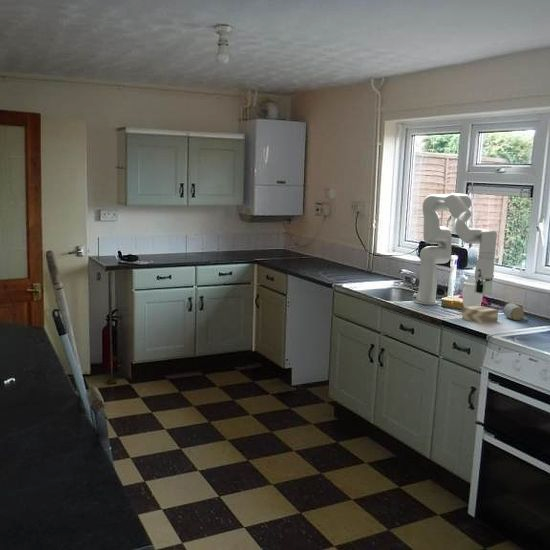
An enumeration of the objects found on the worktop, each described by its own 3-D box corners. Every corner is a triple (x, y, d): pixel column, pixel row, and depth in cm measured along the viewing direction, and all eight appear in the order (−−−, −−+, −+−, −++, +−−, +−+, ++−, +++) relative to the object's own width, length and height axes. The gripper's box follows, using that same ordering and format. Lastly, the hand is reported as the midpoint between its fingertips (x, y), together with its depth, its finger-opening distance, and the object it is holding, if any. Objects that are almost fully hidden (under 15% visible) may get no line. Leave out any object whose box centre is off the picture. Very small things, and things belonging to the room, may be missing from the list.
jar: (480, 313, 326) (484, 285, 323) (460, 311, 329) (463, 283, 327) (481, 310, 336) (484, 282, 333) (461, 307, 339) (464, 280, 337)
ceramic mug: (510, 320, 312) (512, 305, 311) (502, 317, 320) (504, 302, 319) (530, 321, 314) (532, 306, 313) (521, 318, 322) (523, 303, 321)
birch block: (462, 318, 312) (463, 307, 311) (476, 316, 319) (477, 305, 318) (482, 324, 302) (484, 312, 302) (497, 321, 310) (498, 309, 309)
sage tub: (473, 292, 309) (475, 280, 308) (480, 291, 313) (481, 279, 312) (484, 294, 304) (486, 282, 303) (491, 293, 308) (492, 281, 307)
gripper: (489, 254, 314) (485, 289, 317) (470, 255, 303) (466, 291, 306) (502, 256, 309) (499, 291, 311) (483, 257, 297) (480, 294, 300)
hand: (482, 291), depth 308 cm, fingers closed on sage tub, 6 cm apart
